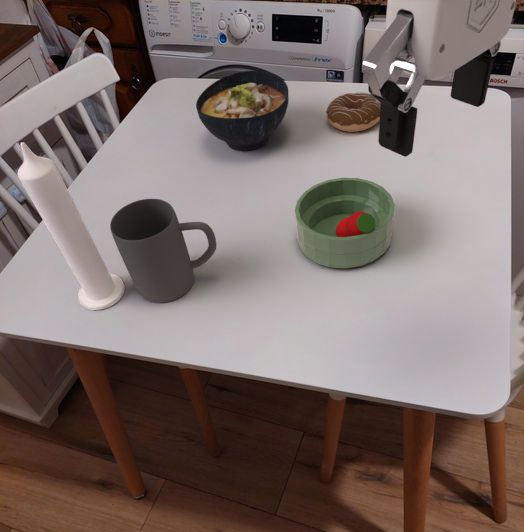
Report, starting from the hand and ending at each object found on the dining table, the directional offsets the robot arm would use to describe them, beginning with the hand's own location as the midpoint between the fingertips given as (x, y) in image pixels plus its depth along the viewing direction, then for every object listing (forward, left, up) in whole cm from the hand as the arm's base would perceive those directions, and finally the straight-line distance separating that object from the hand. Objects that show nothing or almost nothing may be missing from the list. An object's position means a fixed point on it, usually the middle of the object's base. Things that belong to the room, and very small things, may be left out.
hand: (431, 124), depth 45 cm
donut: (-34, -40, -28) cm, 60 cm away
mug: (+15, -30, -28) cm, 44 cm away
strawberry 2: (-7, -15, -24) cm, 29 cm away
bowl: (-17, -52, -28) cm, 62 cm away
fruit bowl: (-8, -18, -28) cm, 34 cm away
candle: (+25, -37, -28) cm, 53 cm away
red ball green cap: (-8, -18, -27) cm, 33 cm away
